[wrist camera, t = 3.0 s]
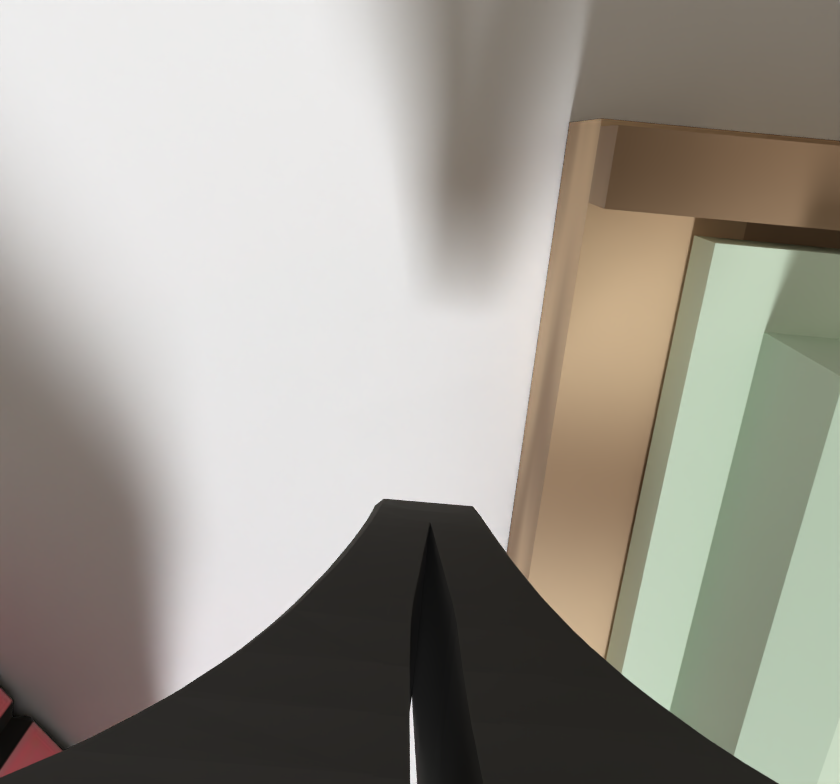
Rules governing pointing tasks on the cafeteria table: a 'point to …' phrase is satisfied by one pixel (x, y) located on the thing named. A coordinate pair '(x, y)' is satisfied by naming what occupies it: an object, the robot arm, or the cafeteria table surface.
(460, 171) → the cafeteria table surface
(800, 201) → the tan wooden frame
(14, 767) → the puzzle cube
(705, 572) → the cover
